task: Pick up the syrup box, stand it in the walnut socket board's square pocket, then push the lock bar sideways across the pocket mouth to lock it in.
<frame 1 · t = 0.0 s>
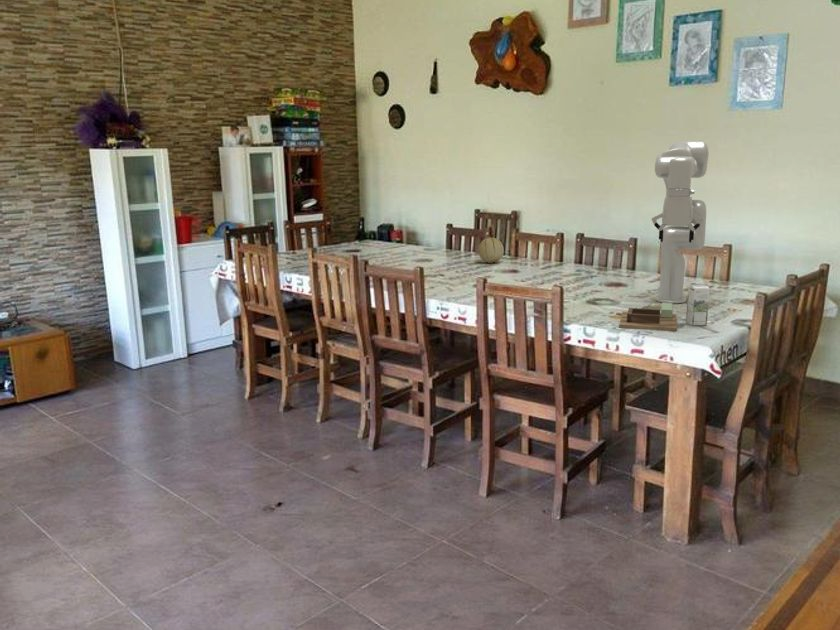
hand: (675, 241, 261), 31 cm above the table, tool pointing down, fingers open, 9 cm apart
syrup box: (696, 324, 270), on the table
lock bar: (666, 309, 280), point 3 cm above the table, slide at 10.0 cm
socket board: (642, 322, 274), on the table
cantaloupe: (491, 263, 416), on the table
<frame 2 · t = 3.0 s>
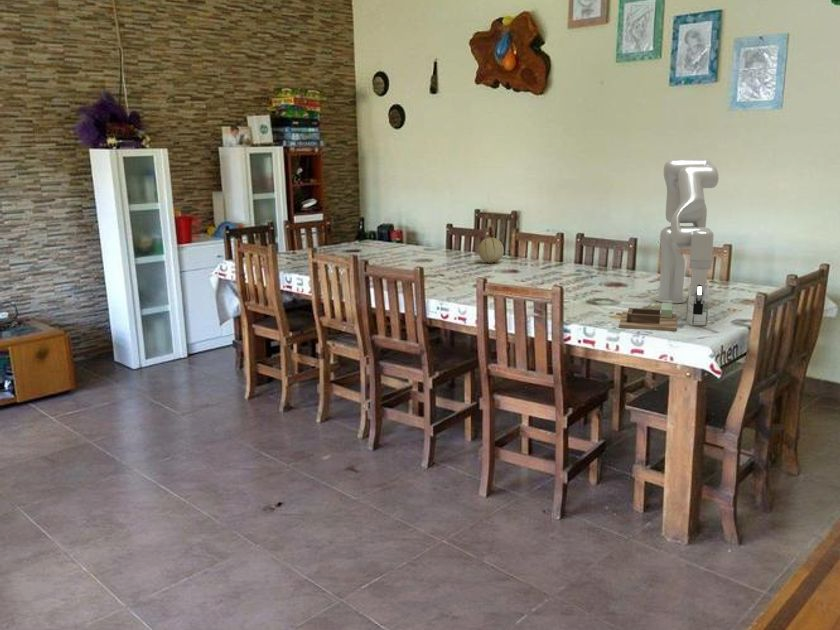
hand: (697, 311, 269), 5 cm above the table, tool pointing down, fingers closed on syrup box, 7 cm apart
syrup box: (696, 324, 270), on the table, touching gripper
everything else where it was.
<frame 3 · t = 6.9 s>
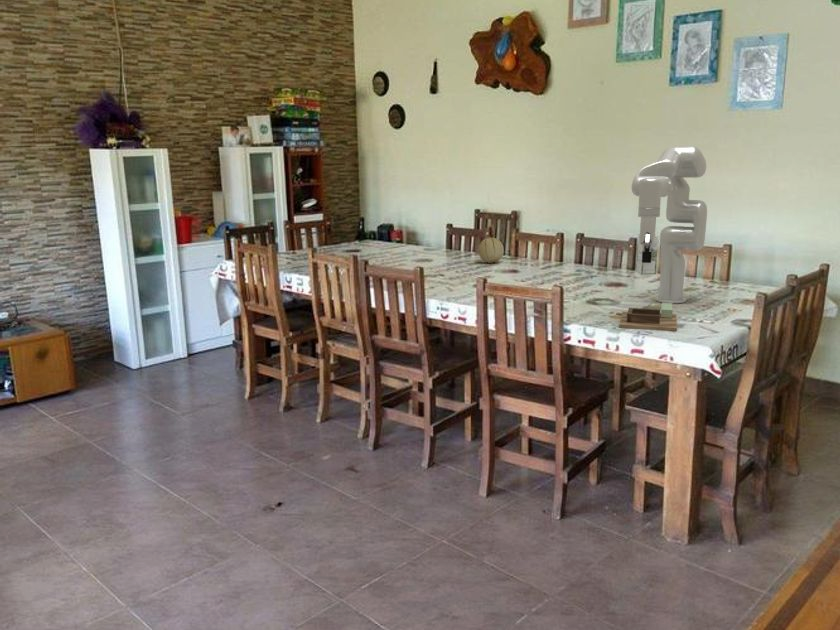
hand: (646, 260, 269), 24 cm above the table, tool pointing down, fingers closed on syrup box, 7 cm apart
syrup box: (646, 274, 270), point 19 cm above the table, touching gripper
everything else where it was.
when the fingers open (7 cm above the table, at t = 10.6 s): syrup box drops 1 cm, resting on socket board.
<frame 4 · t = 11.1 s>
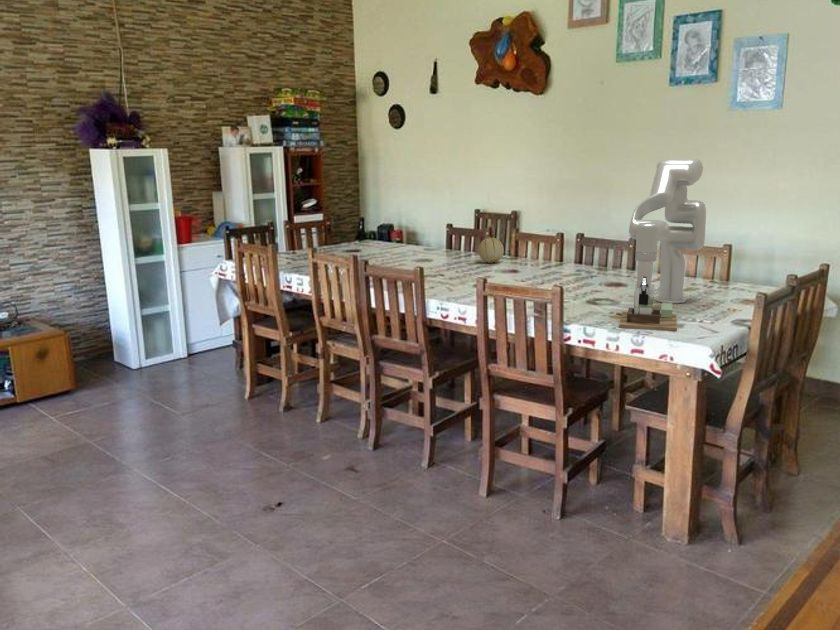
hand: (643, 301, 272), 8 cm above the table, tool pointing down, fingers open, 9 cm apart
syrup box: (642, 320, 274), point 1 cm above the table, touching socket board
everything else where it was.
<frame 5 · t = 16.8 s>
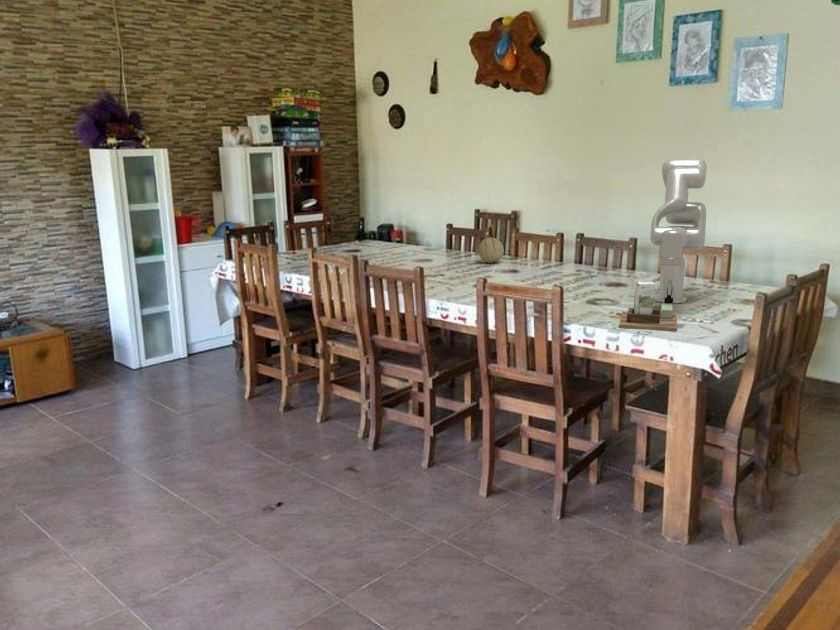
hand: (668, 307, 288), 2 cm above the table, tool pointing down, fingers closed
lock bar: (666, 310, 280), point 3 cm above the table, slide at 9.6 cm, touching gripper
everything else where it was.
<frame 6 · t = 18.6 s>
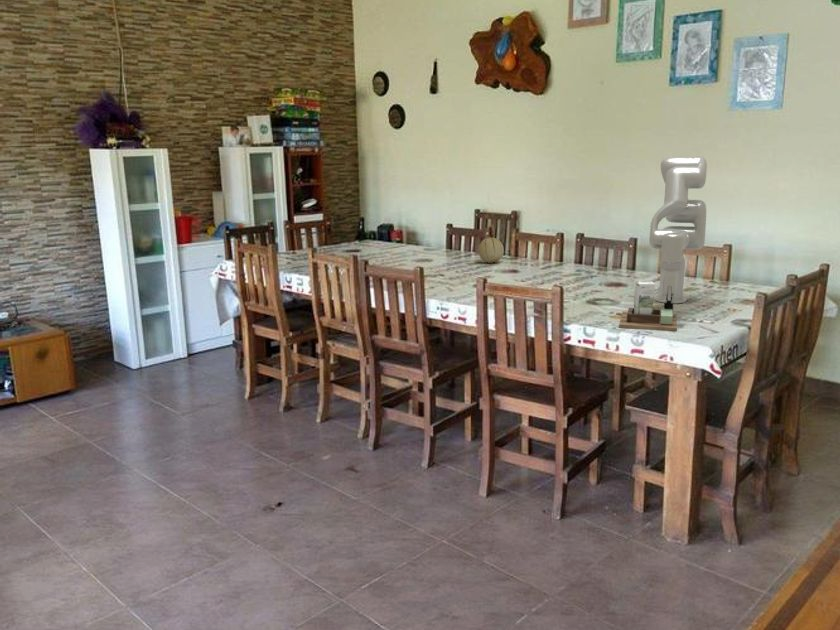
hand: (668, 313, 279), 2 cm above the table, tool pointing down, fingers closed
lock bar: (666, 316, 271), point 3 cm above the table, slide at -0.4 cm, touching gripper
everything else where it was.
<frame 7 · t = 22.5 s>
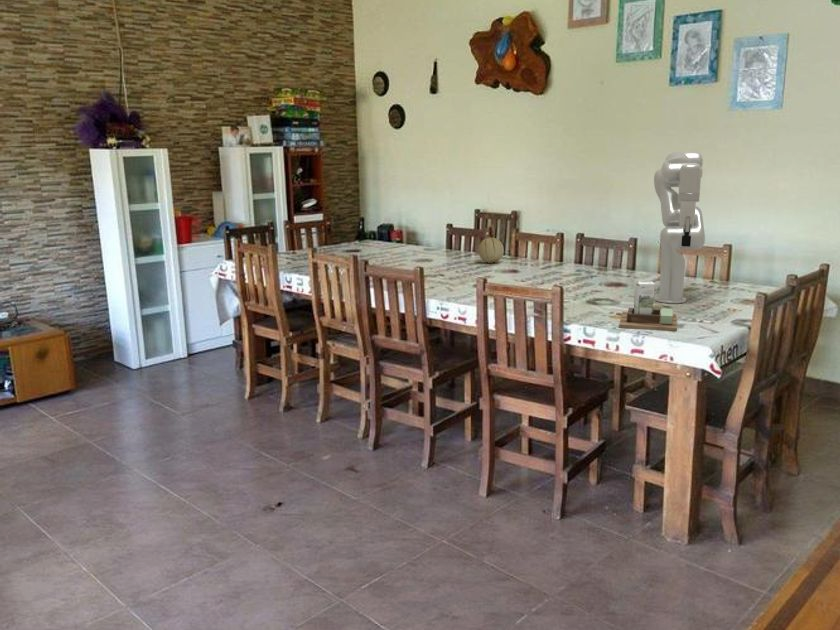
hand: (685, 246, 278), 27 cm above the table, tool pointing down, fingers closed
lock bar: (666, 315, 271), point 3 cm above the table, slide at 0.0 cm
everything else where it was.
at the end: syrup box 0.5 cm off-centre on the socket board, point 1.0 cm above the socket board's base; syrup box tilted 0°; lock bar slide at 0.0 cm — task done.
